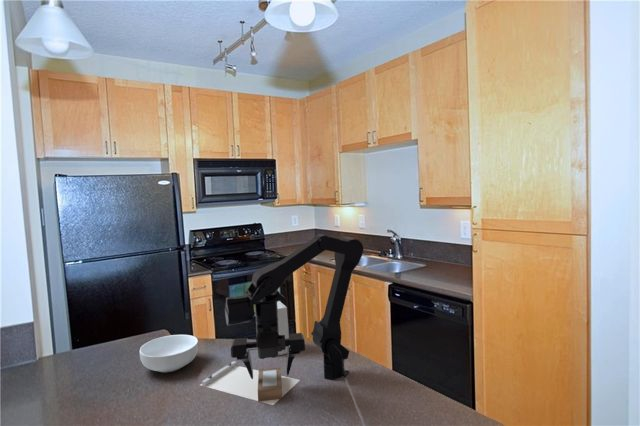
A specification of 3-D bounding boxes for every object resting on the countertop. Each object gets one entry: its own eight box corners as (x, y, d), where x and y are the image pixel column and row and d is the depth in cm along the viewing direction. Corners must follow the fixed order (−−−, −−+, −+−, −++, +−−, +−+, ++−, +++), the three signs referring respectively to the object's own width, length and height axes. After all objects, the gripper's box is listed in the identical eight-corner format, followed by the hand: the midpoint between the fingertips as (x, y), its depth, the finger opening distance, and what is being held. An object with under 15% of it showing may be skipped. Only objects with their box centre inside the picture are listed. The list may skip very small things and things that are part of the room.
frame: (259, 379, 105) (258, 369, 105) (281, 377, 106) (280, 366, 106) (258, 401, 94) (257, 389, 94) (282, 398, 95) (281, 387, 95)
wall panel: (231, 366, 115) (231, 358, 115) (300, 382, 104) (299, 374, 104) (200, 387, 104) (199, 378, 103) (273, 408, 93) (272, 398, 92)
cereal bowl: (187, 379, 109) (186, 355, 108) (130, 381, 109) (128, 357, 108) (206, 353, 126) (205, 332, 125) (156, 355, 126) (155, 334, 125)
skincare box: (290, 355, 122) (288, 307, 121) (270, 359, 119) (267, 310, 118) (283, 345, 129) (281, 300, 128) (264, 349, 127) (261, 303, 126)
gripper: (226, 333, 90) (230, 397, 91) (305, 326, 92) (308, 388, 93) (231, 317, 101) (234, 374, 102) (301, 311, 103) (304, 367, 104)
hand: (270, 376), depth 100 cm, fingers open, 9 cm apart
